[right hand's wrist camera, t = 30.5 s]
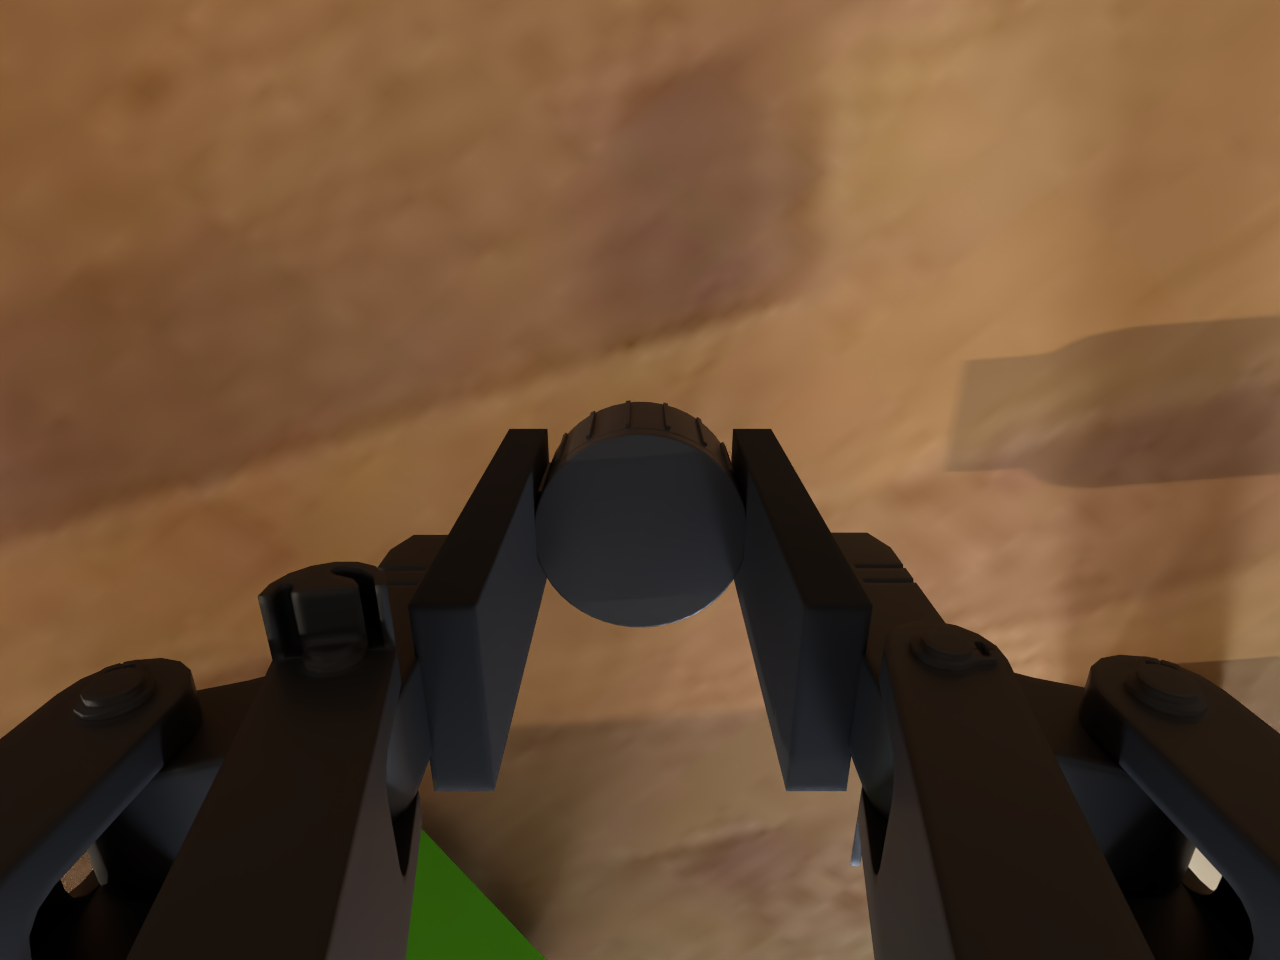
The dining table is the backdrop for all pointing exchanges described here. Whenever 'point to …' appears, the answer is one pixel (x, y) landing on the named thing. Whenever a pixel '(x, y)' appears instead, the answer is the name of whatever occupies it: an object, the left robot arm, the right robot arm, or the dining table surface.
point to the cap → (640, 516)
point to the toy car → (457, 916)
